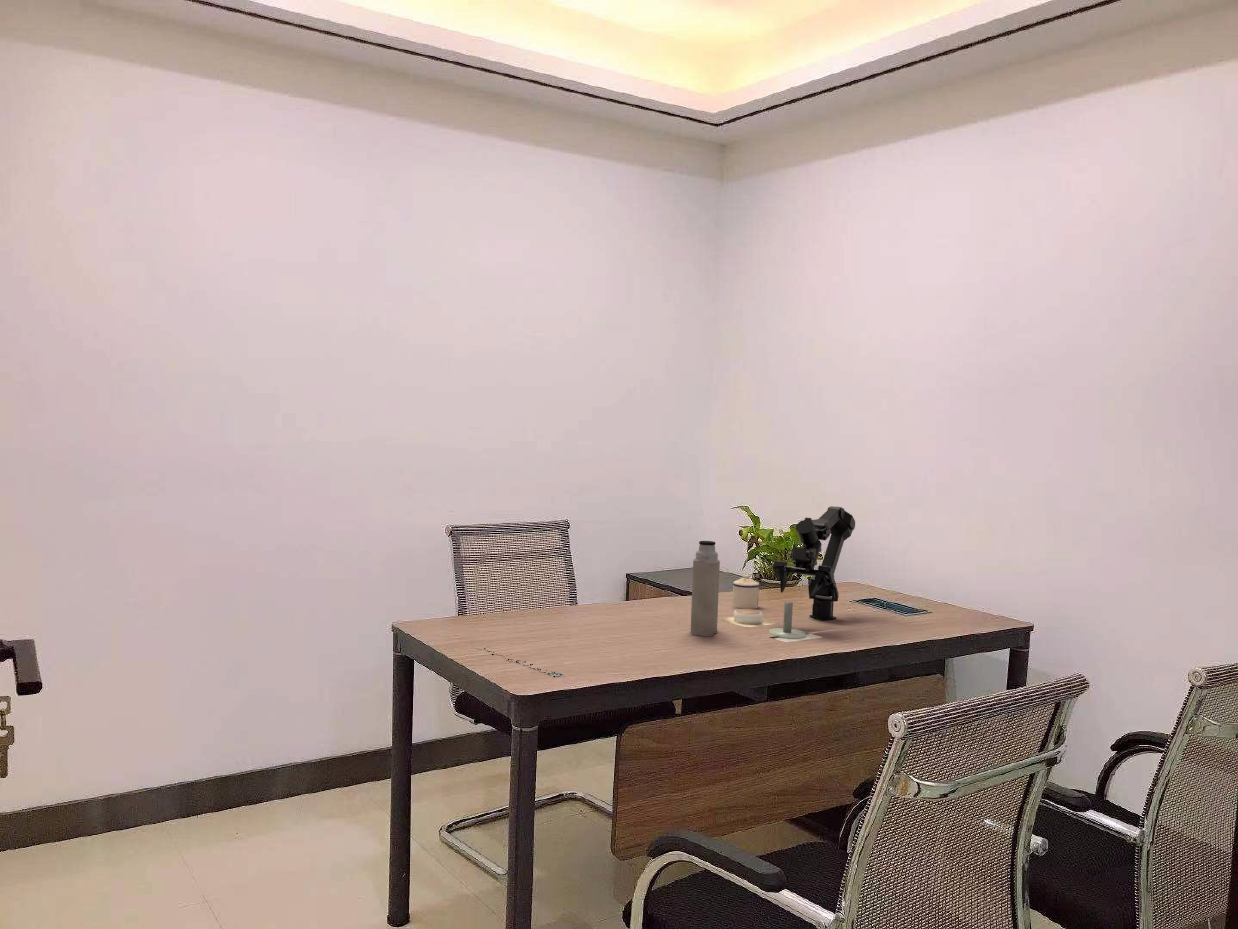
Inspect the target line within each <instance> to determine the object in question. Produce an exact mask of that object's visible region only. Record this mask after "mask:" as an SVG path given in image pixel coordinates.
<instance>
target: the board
mask: <svg viewBox="0 0 1238 929" xmlns="http://www.w3.org/2000/svg"><path fill="white" fill-rule="evenodd" d="M718 620H719V621H722V622H726V623H728V624H732V625H735V626H738V627H742V628H745V629H747V628H755V627H756V628H757V627H762V626H764V627H765V626H771V625H772V626H773V625H780V622H779V623H778V622H776V621H772V620H768V619H765V618H762V623H760V624H742V623H737V622H735V621H734V616H732V617H724V618H723V617H722V618H718V619H717V621H718Z"/></svg>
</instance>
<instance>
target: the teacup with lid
mask: <svg viewBox="0 0 1238 929" xmlns="http://www.w3.org/2000/svg"><path fill="white" fill-rule="evenodd" d="M732 585H733V587H732V588H733V590H732V608H738V609H752V610H755V609H757V608H758V607H759V593H760V592H759V590H760V589H759V588H760V583H759V581H755V580H754V579H753V578H751V577H750V575H749V574H744V575H743V577H741V578H739V579H737V580H734V581H733V582H732Z"/></svg>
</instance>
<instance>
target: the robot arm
mask: <svg viewBox="0 0 1238 929" xmlns="http://www.w3.org/2000/svg"><path fill="white" fill-rule="evenodd" d="M855 528H856V520H855V517H854V516H853V514H851V513H849V512H848V511H847V510H845V508H844V507H842V506H834V505H833V506H828V507H827V510H826V511H825V512H824V513H823V514H821V515H820V516H819V518H816V519H812V517H804V519H803V520H800V521H799V522H798V523H796V525H795V530H796V533H797V536H798V540H799V542H800V543H801V544H802V545H801V547H793V548H792V551H791V558H792V559H793V560H792V563H793V565H795V566H793V565H791V566H790V565H788V562H787V561H784V560H774V561H773V562H772V565H771V568H772V570H773V574H774V576H775V577H776V578H778V580H779V586H780V593H783V592H784V591H785V588H786V586H787V583H788V580H789V579H788V577H789V576H790V574H795V575H802V576H808V577H810V580H809V582H808V585H807V586H808V587H807V589H808V598H809V599H810V600H812V601H813V602H812V610H811V612H812V613H811V614H809V618H813V619H818V620H820V619H821V621H827V619H828V620H835V619H837V616H834V602H839V598H840V597H839V595H840V594H839V590H838V588H837V583H836V580H835V571H836V569H837V565H838V562H839V559H840V555H841V552H842V548H843V546H844V543H845V541H847V539H849V538H850V537H851V536H852V533H853V532H854V530H855ZM828 538H829V540H828ZM827 540H828V544H827V546H826V550H825V551H824V552H825V553H824V554H823V560H822V563H821V564H820V565H818V558H819V554H820V553H822V545H823V544H822V542H821V541H827ZM817 565H818V567H817V569H815V566H817ZM809 599H808V600H809Z"/></svg>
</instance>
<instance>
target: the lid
mask: <svg viewBox="0 0 1238 929" xmlns="http://www.w3.org/2000/svg"><path fill="white" fill-rule="evenodd" d="M783 603H784V606H783V626H782V627H776V628H770V629H768V633H769V634H770V635H772V636H773V635H774V636H773V637H779V638H786V639H799V638H804V637H805V636H806V633H807V632H806V633H805V631H804V630H800V629H795V628H792V626H793V605H794V603H793V602H792V601H784V602H783Z"/></svg>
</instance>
